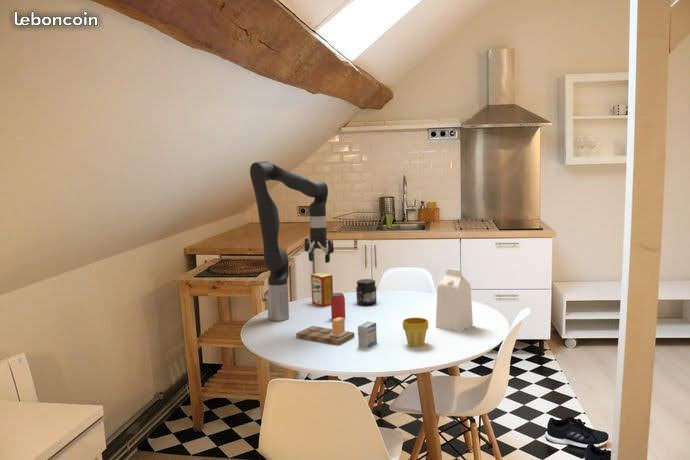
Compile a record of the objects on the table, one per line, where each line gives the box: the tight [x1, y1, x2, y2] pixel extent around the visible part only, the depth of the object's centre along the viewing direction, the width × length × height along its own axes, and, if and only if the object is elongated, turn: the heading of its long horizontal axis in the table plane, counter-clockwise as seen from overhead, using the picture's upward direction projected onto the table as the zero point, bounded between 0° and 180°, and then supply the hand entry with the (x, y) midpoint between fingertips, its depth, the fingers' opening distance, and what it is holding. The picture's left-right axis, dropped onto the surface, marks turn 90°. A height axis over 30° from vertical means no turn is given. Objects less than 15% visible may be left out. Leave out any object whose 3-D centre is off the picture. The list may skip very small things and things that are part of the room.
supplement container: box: [355, 278, 378, 307], centre depth 313 cm, size 10×10×12 cm
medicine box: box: [357, 321, 378, 349], centre depth 249 cm, size 8×4×9 cm, turn 148°
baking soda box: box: [310, 272, 334, 308], centre depth 314 cm, size 10×6×16 cm
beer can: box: [330, 292, 346, 320], centre depth 287 cm, size 7×7×12 cm
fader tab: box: [330, 317, 349, 337], centre depth 256 cm, size 5×6×7 cm
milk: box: [435, 267, 474, 332], centre depth 269 cm, size 12×12×26 cm
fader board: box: [295, 325, 355, 346], centre depth 261 cm, size 22×12×2 cm, turn 58°
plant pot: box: [402, 316, 429, 347], centre depth 248 cm, size 10×10×10 cm
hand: (319, 261), depth 272 cm, fingers open, 8 cm apart
